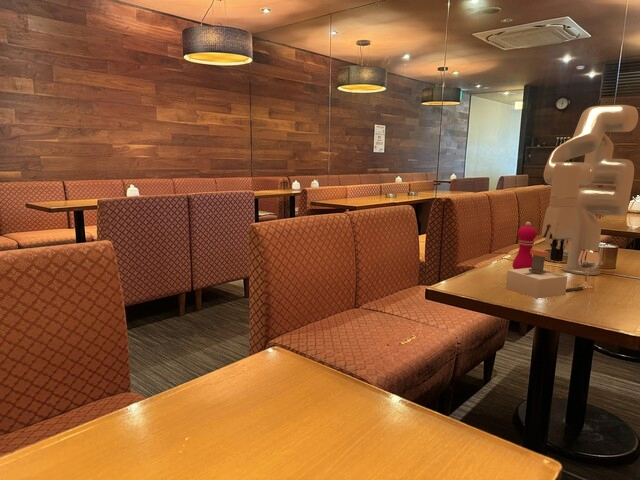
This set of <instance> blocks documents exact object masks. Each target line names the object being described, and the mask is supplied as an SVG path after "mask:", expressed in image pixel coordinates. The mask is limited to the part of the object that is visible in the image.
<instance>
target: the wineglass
mask: <svg viewBox="0 0 640 480" xmlns="http://www.w3.org/2000/svg"><path fill="white" fill-rule="evenodd" d="M599 261H600V254H599V250H598V251H595V250H582V251H581V253H580V256H579V265H580V267H582V268H583V269H585V270H586V272H585V275H584V276H585V279H584V282H583V283H578V284H577V287H580V286H581V287H583V288H584V287H585V289H593V288H594V287H593V286H592V285H590V284H589V283H588V276H589V275H588V274H589V271H588V270H592V269H595V268H596V267H597V268H598V267H599V266H598V264H599Z"/></svg>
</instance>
